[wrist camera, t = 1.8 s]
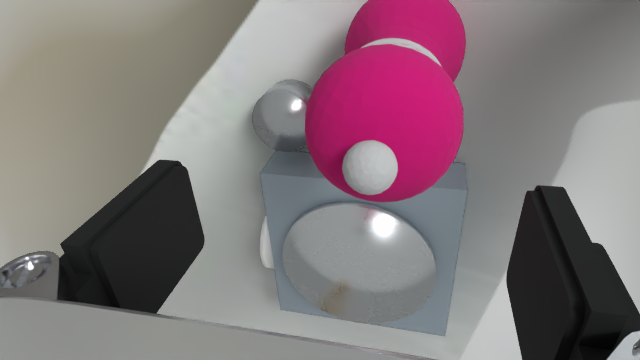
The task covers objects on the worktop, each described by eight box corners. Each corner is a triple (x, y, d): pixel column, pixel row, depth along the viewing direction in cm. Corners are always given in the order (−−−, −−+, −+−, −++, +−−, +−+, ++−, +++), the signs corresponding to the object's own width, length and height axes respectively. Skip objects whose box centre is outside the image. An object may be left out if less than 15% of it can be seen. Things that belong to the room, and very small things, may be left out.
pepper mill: (439, 95, 31) (439, 296, 14) (346, 69, 31) (243, 232, 15) (480, -8, 27) (544, 108, 10) (372, -36, 27) (269, 31, 11)
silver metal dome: (321, 79, 32) (311, 92, 30) (324, 137, 35) (315, 154, 33) (262, 78, 34) (247, 90, 31) (269, 134, 36) (256, 150, 34)
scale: (464, 158, 34) (468, 199, 29) (444, 297, 42) (445, 347, 37) (270, 146, 38) (244, 180, 33) (287, 275, 46) (269, 317, 41)
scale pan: (443, 208, 30) (444, 215, 30) (429, 326, 37) (429, 333, 37) (277, 193, 34) (274, 199, 33) (292, 305, 40) (289, 311, 40)
